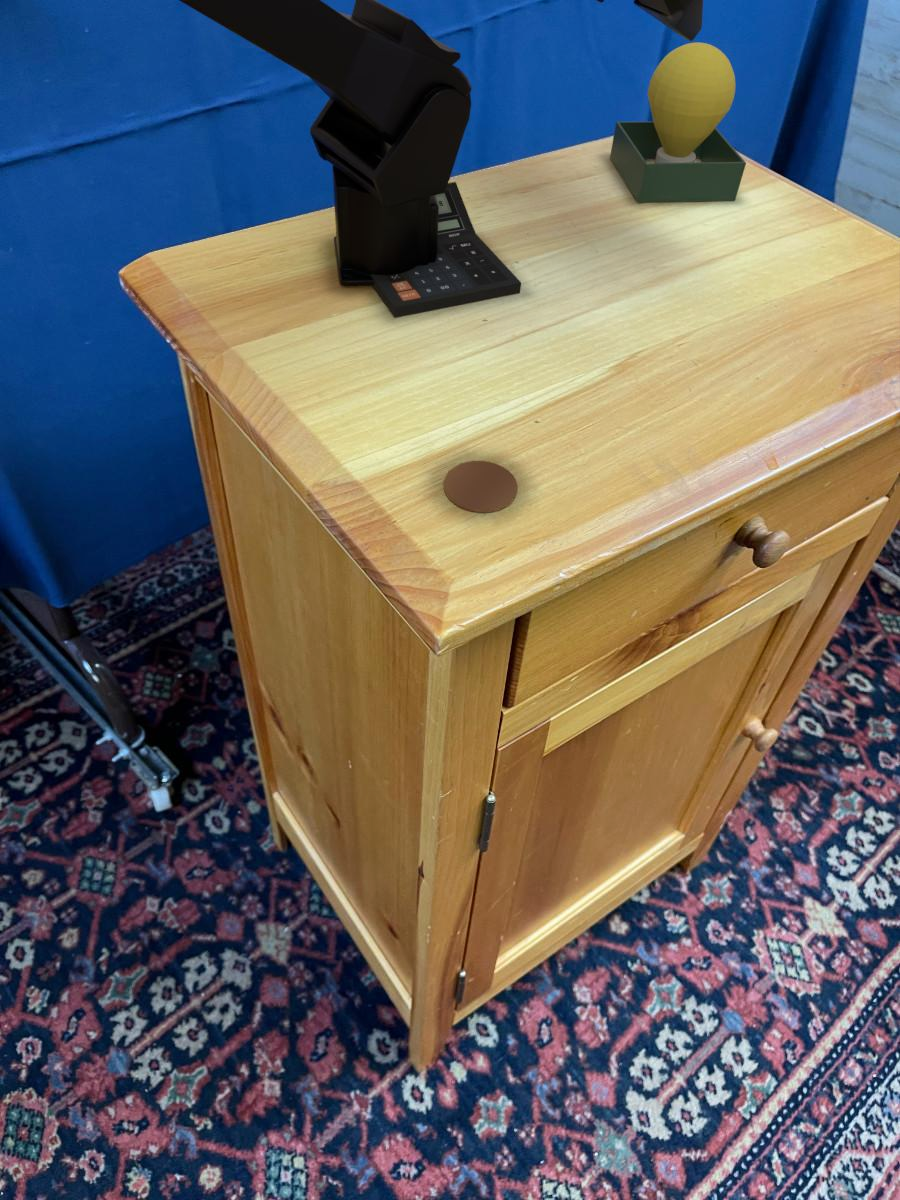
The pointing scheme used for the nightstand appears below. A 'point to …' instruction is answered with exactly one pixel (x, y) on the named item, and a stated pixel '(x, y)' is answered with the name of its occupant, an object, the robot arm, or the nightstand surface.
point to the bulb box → (675, 167)
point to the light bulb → (689, 99)
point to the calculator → (449, 268)
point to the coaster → (480, 486)
